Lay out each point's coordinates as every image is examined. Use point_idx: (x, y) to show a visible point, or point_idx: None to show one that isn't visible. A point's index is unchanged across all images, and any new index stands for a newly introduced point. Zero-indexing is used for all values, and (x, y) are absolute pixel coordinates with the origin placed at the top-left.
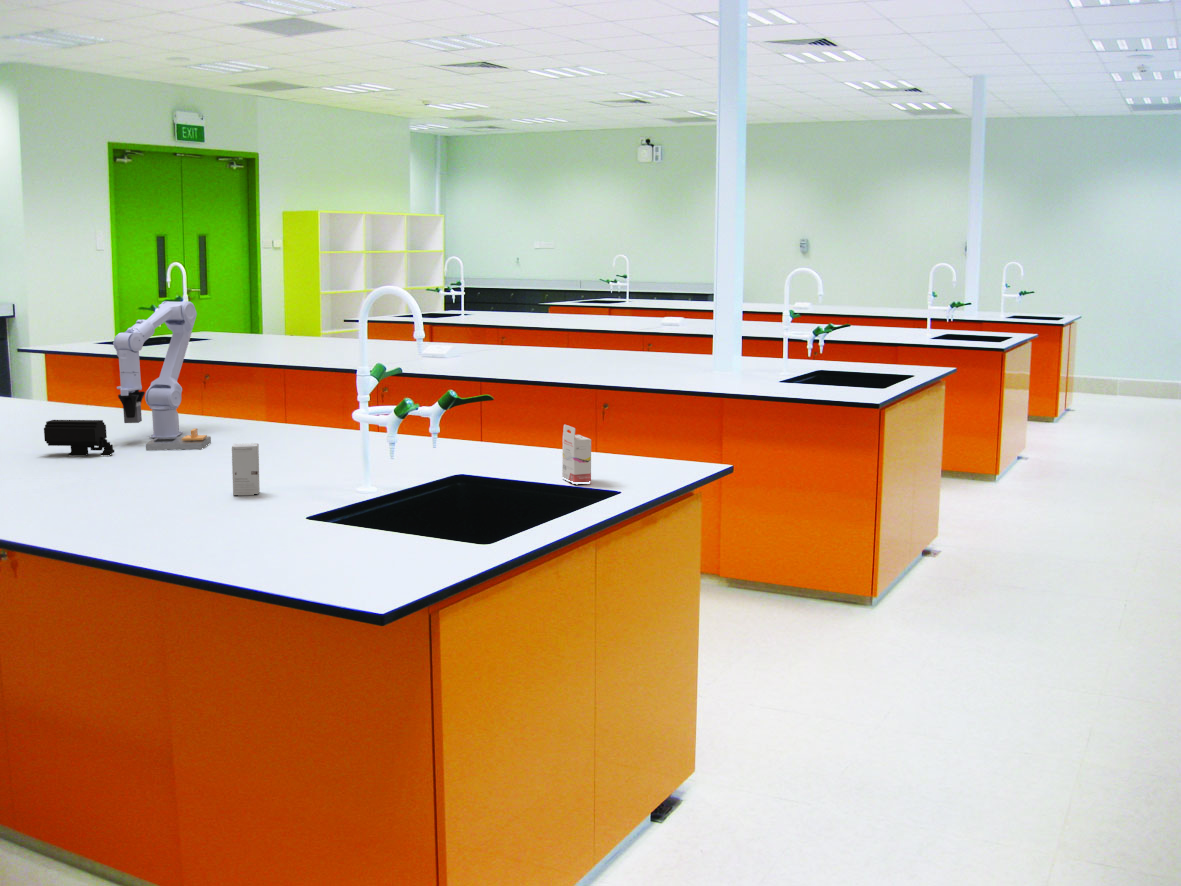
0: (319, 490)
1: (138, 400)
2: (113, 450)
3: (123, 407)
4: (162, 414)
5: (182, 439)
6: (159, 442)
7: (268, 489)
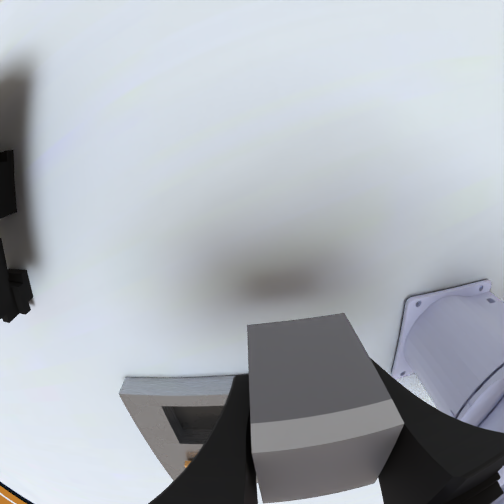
0: (26, 492)
1: (386, 482)
2: (22, 312)
3: (252, 419)
4: (445, 406)
5: (185, 464)
6: (153, 421)
7: (6, 472)
